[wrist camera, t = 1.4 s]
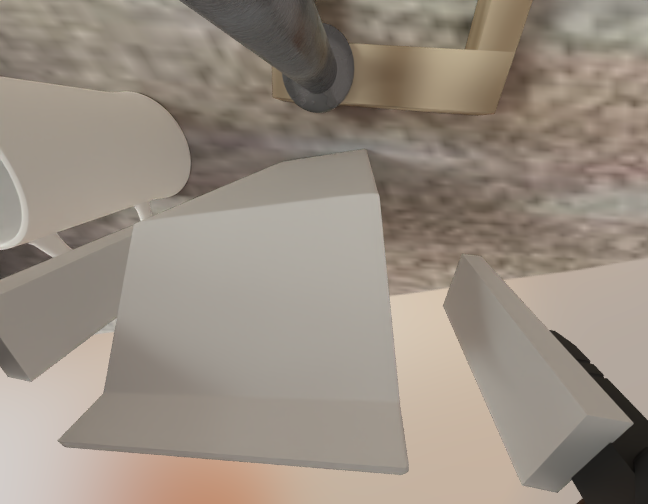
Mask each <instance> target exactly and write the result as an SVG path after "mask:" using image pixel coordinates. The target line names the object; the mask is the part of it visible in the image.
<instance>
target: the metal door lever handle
mask: <svg viewBox="0 0 648 504" xmlns="http://www.w3.org/2000/svg"><path fill="white" fill-rule="evenodd" d="M180 1H181V2H183V3H184V4H185V5H187V6H188V7H190V8H191V9H193V10H194V11H195V12H197V13H198V14H200V15H201V16H202V17H204V18H205V19H207V20H208V21H210V22H211V23H212V24H214V25H215V26H217V27H218V28H219V29H221V30H222V31H224V32H225V33H227V34H228V35H229V36H231V37H232V38H234V39H235V40H236V41H238V42H239V43H241V44H242V45H243V46H245V47H246V48H248V49H249V50H251V51H252V52H253V53H255V54H256V55H258V56H259V57H260V58H262V59H263V60H265V61H266V62H268V63H269V64H270V65H272V66H273V67H275V68H276V69H277V70H279V71H280V72H282V78H283V82H284V85H285V88H286V90H287V92H288V94H289V96H290V97H291V99H292V100H293V101H294V102H295V103H296V104H297V105H298V106H300V107H301V108H303V109H305V110H307V111H310V112H315V113H323V112H327V111H330V110H332V109H334V108H336V107H337V106H338V105H340V104H341V103H342V102H343V101H344V99H345V98H346V96H347V95H348V93H349V91H350V89H351V86H352V83H353V78H354V59H353V54H352V50H351V48H350V45H349V43H348V41H347V40H346V38H345V37H344V35H343V34H342V33H341V32H340V31H339V30H338V29H336V28H335V27H333V26H331V25H329V24H326V23H322V21H321V19H320V16H319V13H318V11H317V8H316V5H315V2H314V0H180Z"/></svg>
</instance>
